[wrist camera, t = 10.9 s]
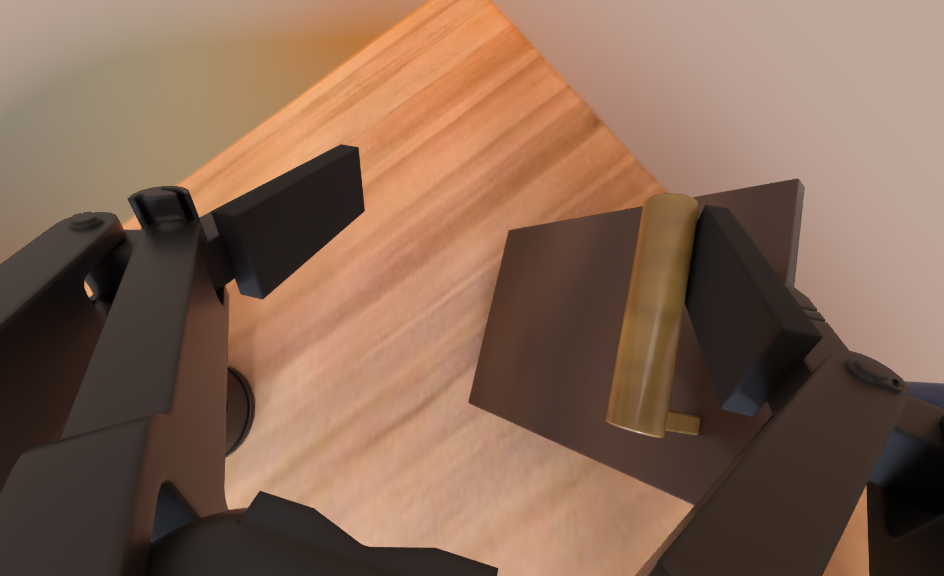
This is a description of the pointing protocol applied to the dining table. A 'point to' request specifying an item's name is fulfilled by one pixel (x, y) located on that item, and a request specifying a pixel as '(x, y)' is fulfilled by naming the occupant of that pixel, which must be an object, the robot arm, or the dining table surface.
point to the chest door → (624, 336)
